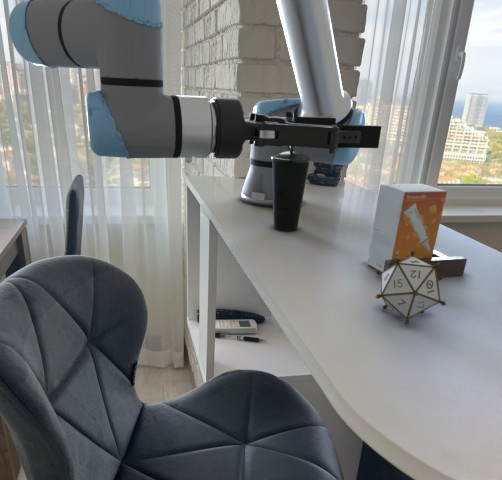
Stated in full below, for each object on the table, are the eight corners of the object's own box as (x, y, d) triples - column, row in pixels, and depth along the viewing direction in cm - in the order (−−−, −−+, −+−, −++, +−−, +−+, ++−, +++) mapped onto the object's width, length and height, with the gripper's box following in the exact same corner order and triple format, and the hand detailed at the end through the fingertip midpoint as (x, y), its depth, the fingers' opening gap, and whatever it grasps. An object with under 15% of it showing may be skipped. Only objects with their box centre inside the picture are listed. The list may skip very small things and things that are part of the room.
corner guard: (337, 247, 92) (339, 232, 91) (403, 244, 96) (406, 230, 95) (386, 280, 77) (389, 262, 76) (463, 275, 81) (467, 258, 80)
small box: (388, 276, 79) (404, 191, 73) (366, 264, 84) (378, 183, 78) (430, 272, 82) (448, 190, 76) (405, 260, 87) (421, 182, 81)
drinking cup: (277, 221, 107) (285, 119, 98) (310, 227, 104) (321, 122, 95) (259, 228, 101) (265, 120, 92) (293, 235, 98) (303, 123, 89)
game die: (391, 334, 68) (397, 265, 70) (454, 333, 63) (459, 257, 65) (357, 318, 62) (365, 241, 64) (425, 314, 56) (431, 230, 58)
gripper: (191, 146, 79) (316, 148, 85) (233, 174, 58) (396, 173, 63) (191, 93, 75) (321, 99, 81) (235, 101, 54) (407, 108, 60)
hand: (354, 131), depth 72 cm, fingers open, 13 cm apart
